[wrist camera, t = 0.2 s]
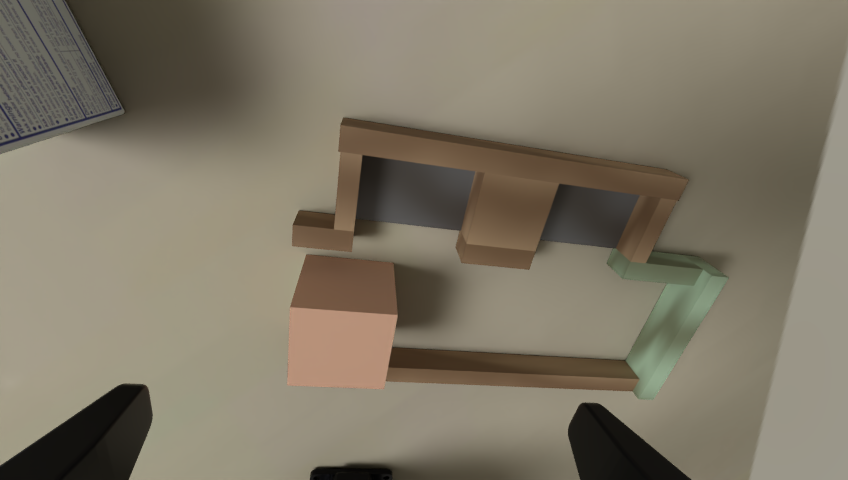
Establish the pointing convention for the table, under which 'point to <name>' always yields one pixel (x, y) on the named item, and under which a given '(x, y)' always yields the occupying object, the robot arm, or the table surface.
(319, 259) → the block
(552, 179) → the trap lane
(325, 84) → the table surface
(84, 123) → the medicine box
